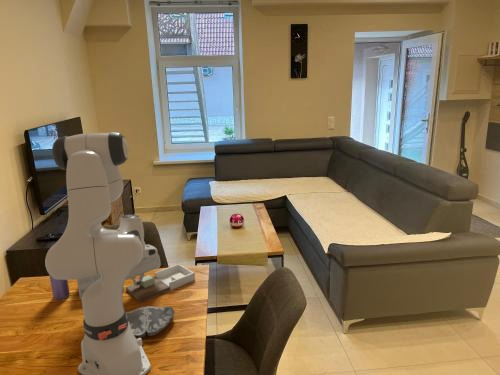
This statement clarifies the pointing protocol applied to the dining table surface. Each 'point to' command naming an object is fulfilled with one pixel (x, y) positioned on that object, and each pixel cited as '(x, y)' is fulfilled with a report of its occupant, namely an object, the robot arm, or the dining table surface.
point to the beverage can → (59, 288)
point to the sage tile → (147, 281)
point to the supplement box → (87, 283)
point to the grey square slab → (148, 290)
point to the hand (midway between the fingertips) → (138, 284)
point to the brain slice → (149, 320)
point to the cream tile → (176, 276)
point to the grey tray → (168, 272)
